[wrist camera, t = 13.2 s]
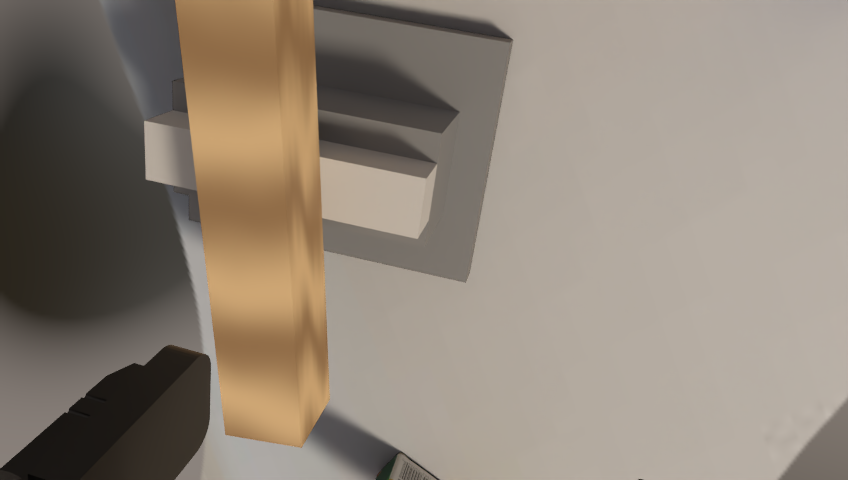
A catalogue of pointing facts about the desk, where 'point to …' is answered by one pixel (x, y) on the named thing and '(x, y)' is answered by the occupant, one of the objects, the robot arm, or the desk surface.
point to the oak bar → (260, 208)
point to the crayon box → (403, 470)
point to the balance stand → (384, 139)
